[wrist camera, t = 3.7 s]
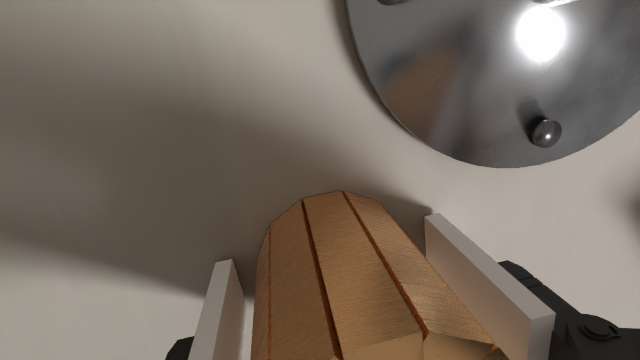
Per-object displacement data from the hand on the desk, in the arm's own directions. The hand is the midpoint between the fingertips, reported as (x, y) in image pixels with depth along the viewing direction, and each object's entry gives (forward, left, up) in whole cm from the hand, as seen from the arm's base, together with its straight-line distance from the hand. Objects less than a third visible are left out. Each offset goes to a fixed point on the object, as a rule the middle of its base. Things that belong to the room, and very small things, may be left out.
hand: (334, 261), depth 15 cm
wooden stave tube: (0, 0, 0) cm, 0 cm away
